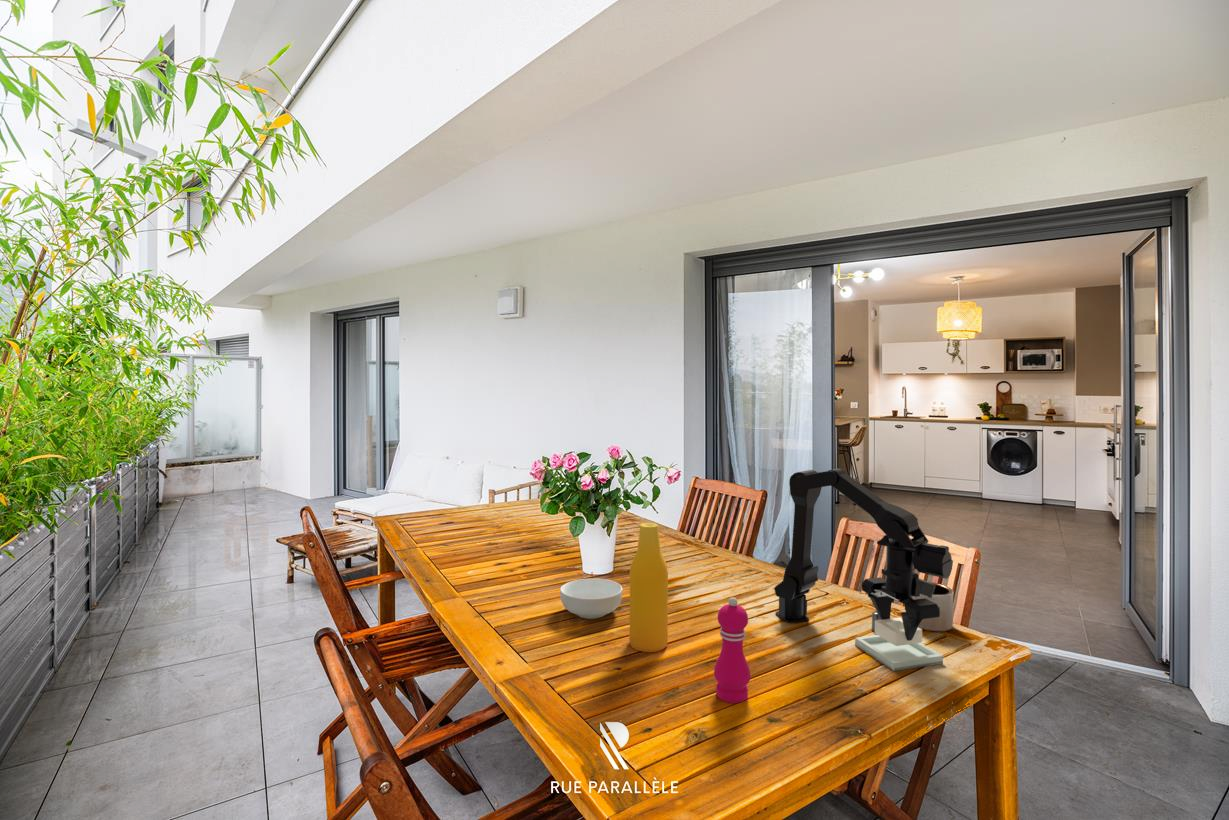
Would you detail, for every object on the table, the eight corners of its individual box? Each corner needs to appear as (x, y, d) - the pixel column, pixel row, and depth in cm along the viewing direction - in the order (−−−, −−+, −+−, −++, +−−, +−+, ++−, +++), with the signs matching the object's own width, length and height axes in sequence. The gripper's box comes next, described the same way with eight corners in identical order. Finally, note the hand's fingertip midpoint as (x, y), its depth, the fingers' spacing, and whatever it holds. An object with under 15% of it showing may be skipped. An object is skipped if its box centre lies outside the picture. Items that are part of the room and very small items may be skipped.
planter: (947, 618, 157) (949, 583, 157) (956, 635, 147) (958, 597, 146) (902, 613, 161) (903, 578, 160) (908, 629, 150) (909, 592, 150)
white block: (896, 646, 133) (896, 633, 132) (874, 633, 139) (874, 620, 139) (921, 642, 134) (922, 629, 134) (899, 629, 141) (899, 617, 141)
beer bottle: (656, 656, 136) (657, 531, 134) (622, 646, 141) (622, 526, 139) (674, 641, 144) (675, 523, 142) (641, 632, 148) (641, 518, 147)
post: (875, 633, 148) (876, 615, 148) (869, 629, 150) (870, 612, 150) (883, 631, 149) (883, 614, 149) (877, 628, 151) (877, 611, 151)
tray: (894, 671, 129) (894, 663, 129) (855, 645, 141) (855, 637, 141) (942, 663, 132) (943, 655, 132) (900, 638, 145) (900, 631, 145)
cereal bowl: (632, 607, 165) (632, 582, 164) (606, 630, 150) (606, 603, 149) (578, 597, 172) (578, 574, 172) (548, 619, 157) (548, 592, 157)
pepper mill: (709, 686, 123) (710, 591, 122) (744, 684, 123) (745, 590, 122) (719, 705, 115) (720, 605, 114) (755, 703, 116) (756, 603, 115)
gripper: (961, 577, 129) (959, 647, 130) (899, 552, 147) (897, 614, 148) (919, 581, 126) (917, 653, 127) (861, 556, 144) (859, 618, 145)
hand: (897, 633), depth 137 cm, fingers closed on white block, 7 cm apart
